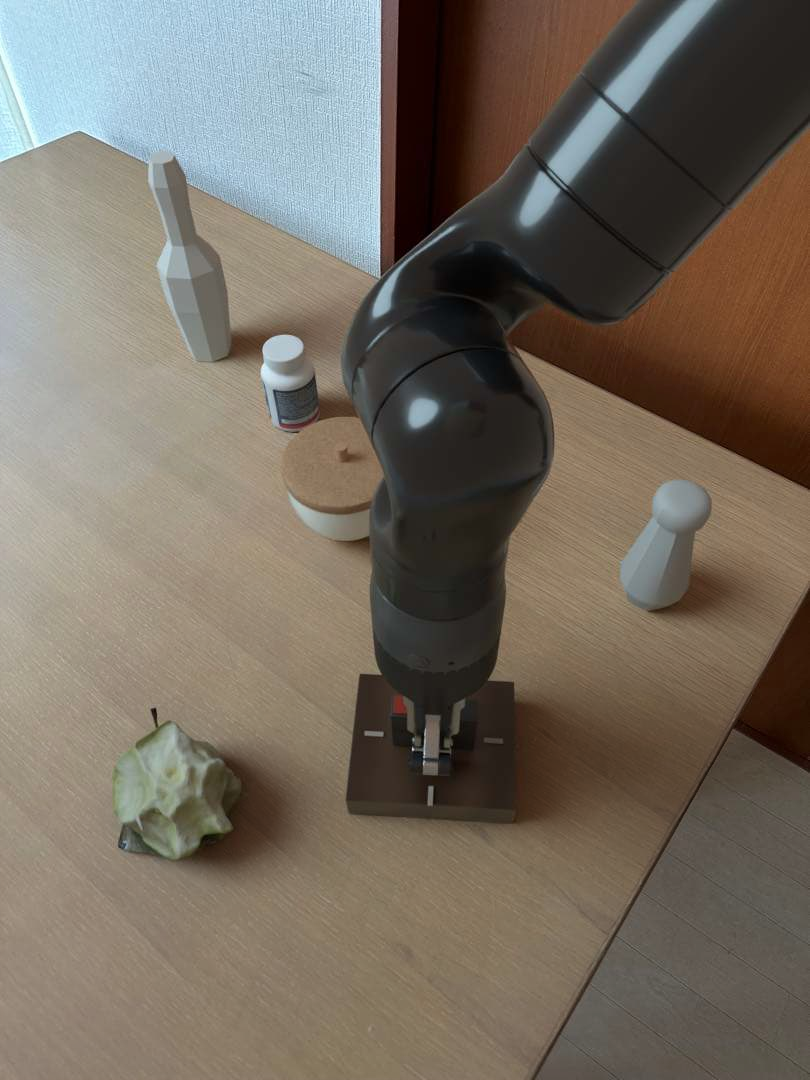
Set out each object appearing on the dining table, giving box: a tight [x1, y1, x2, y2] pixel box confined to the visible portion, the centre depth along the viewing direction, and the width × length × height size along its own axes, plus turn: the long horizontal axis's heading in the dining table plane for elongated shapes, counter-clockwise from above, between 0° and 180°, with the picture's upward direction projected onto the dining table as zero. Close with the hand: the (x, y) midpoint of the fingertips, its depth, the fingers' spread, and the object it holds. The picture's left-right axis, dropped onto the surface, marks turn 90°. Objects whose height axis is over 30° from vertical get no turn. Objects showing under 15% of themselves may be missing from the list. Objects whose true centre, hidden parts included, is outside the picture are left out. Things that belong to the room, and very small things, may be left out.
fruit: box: [112, 707, 242, 862], centre depth 59 cm, size 9×9×8 cm
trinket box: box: [280, 416, 384, 542], centre depth 74 cm, size 11×11×9 cm
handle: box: [390, 695, 478, 750], centre depth 59 cm, size 6×2×5 cm, turn 86°
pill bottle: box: [260, 334, 321, 433], centre depth 83 cm, size 5×5×9 cm
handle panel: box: [345, 673, 517, 825], centre depth 62 cm, size 12×10×3 cm
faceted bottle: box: [147, 150, 233, 363], centre depth 84 cm, size 6×6×22 cm
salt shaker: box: [619, 479, 713, 612], centre depth 67 cm, size 6×6×13 cm
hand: (433, 735), depth 61 cm, fingers open, 3 cm apart
